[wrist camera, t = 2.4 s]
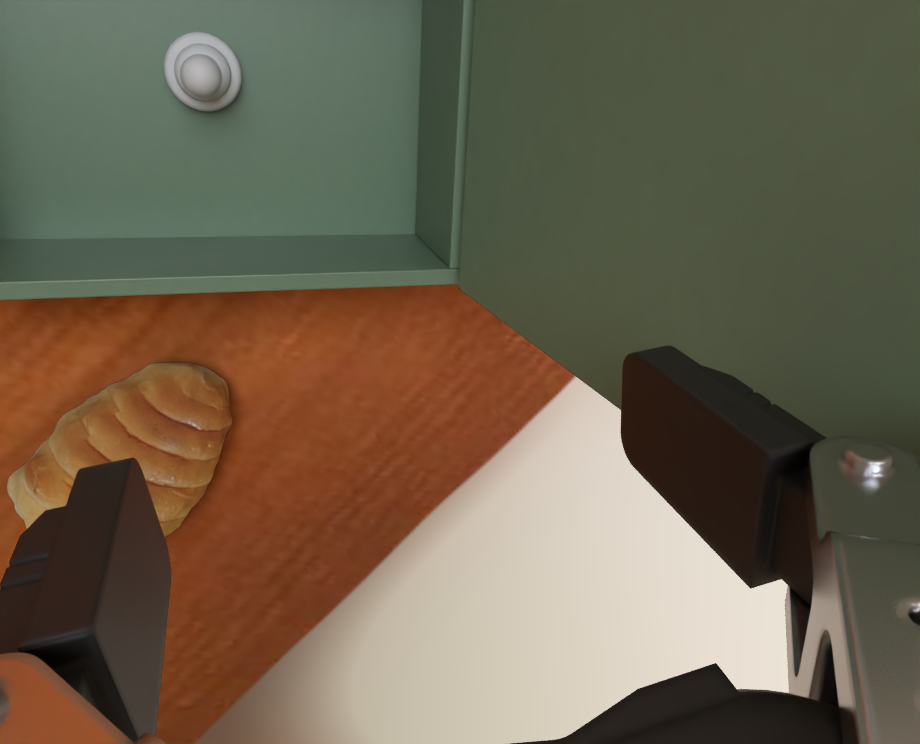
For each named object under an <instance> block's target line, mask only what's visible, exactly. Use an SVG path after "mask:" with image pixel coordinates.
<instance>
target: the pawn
mask: <svg viewBox="0 0 920 744" xmlns="http://www.w3.org/2000/svg"><path fill="white" fill-rule="evenodd" d="M164 75H165V78H166V81H167V84H168V86H169V88H170V89H171V91H172V93H173V94H174V95H175V96H176V97H177V98H178V99H179V100H180V101H181V102H182V103H184V104H185V105H187V106H188V107H190V108H193V109H196V110H199V111H207V112H211V111H216V110H220V109H222V108H224V107H226V106H228V105H229V104H230V103H231V102H232V101H233V100H234V99H235V98H236V96H237V94H238V92H239V90H240V86H241V82H242V71H241V68H240V64H239V61H238V59H237V57H236V55H235V53H234V51H233V50H232V49H231V48H230V47H229V46H228V45H227V44H226V43H225V42H224V41H222V40H221V39H220V38H218V37H216V36H214V35H211V34H209V33H204V32H192V33H186V34H184V35H182V36H180V37H178V38H177V39H176V40H175V41H174V42H173V43H172V44H171V45H170V47H169V48H168V50H167V52H166V55H165V59H164Z"/></svg>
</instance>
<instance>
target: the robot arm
mask: <svg viewBox="0 0 920 744" xmlns="http://www.w3.org/2000/svg"><path fill="white" fill-rule="evenodd" d="M621 439H622V443H623V448H624V450H625V453H626V456H627V458H628V459H629V461H630V463H631V464H632V465H633V467H634V468H635V469H636V470H637V471H638V472H639V473H640V474H641V475H642V476H643V477H644V478H645V479H646V480H647V481H648V482H649V483H650V484H651V485H652V487H653V488H654V489H655V490H656V491H657V492H658V493H659V494H660V495H661V496H662V497H663V498H664V499H665V500H666V501H667V502H668V503H669V504H670V505H671V506H672V507H673V508H674V509H675V510H676V512H677V513H678V514H679V515H680V516H681V517H682V518H683V519H684V520H685V521H686V522H687V523H688V524H689V525H690V526H691V527H692V528H693V529H694V530H695V531H696V532H697V533H698V534H699V535H700V536H701V538H702V539H703V540H704V541H705V542H706V543H707V544H708V545H709V546H710V547H711V548H712V549H713V550H714V551H715V552H716V553H717V554H718V555H719V556H720V557H721V558H722V559H723V560H724V561H725V562H726V564H728V566H729V567H730V568H731V569H732V570H733V571H734V572H735V573H736V574H737V575H738V576H739V577H740V578H741V579H742V580H743V581H744V582H745V583H746V584H747V585H748V586H749V587H750V588H754V587H757V586H760V585H763V584H767V583H770V582H773V581H776V580H780V579H782V580H783V581H784V582H786V584H788V588H787V593H786V599H785V613H786V614H785V616H786V637H787V657H788V679H789V693H783V692H776V691H769V690H749V689H738V690H737V689H736V688H735V687H734V685H733V684H732V683H731V682H730V680H729V679H728V678H727V677H726V675H725V674H724V673H723V672H722V670H721V669H720V668H719V666H718V665H717V664H716V663H715V664H712V665H709V666H706V667H703V668H700V669H697V670H694V671H691V672H688V673H685V674H682V675H679V676H676V677H673V678H670V679H667V680H664V681H661V682H658V683H655V684H652V685H649V686H646V687H643V688H640V689H637V690H636V691H634V692H633V693H631V694H630V695H628V696H627V697H625V698H624V699H622V700H621V701H620V702H618V703H617V704H615V705H614V706H612V707H611V708H609V709H608V710H606V711H605V712H603V713H602V714H600V715H599V716H597V717H596V718H594V719H593V720H591V721H590V722H589V723H587V724H585V725H584V726H582V727H581V728H579V729H578V730H576V731H575V732H573V733H572V734H570V735H568V736H567V737H564V738H561V739H557V740H548V741H537V742H524V743H512V744H920V460H919V459H918V458H916V457H915V456H914V455H913V454H911V453H910V452H908V451H906V450H905V449H903V448H901V447H899V446H896V445H894V444H891V443H888V442H885V441H882V440H878V439H874V438H869V437H862V436H836V437H830V438H826V437H825V436H823V435H822V434H820V433H819V432H817V431H816V430H814V429H813V428H811V427H810V426H808V425H807V424H805V423H804V422H802V421H800V420H799V419H797V418H796V417H794V416H793V415H791V414H790V413H788V412H787V411H785V410H784V409H782V408H781V407H779V406H778V405H776V404H771V402H770V400H769V399H767V398H766V397H764V396H762V395H761V394H759V393H758V392H755V393H754V392H753V389H752V388H750V387H749V386H747V385H746V384H744V383H743V382H741V381H740V380H738V379H737V378H735V377H734V376H732V375H729V374H726V373H723V372H721V371H718V370H715V369H712V368H709V367H706V366H702V365H700V364H699V363H697V362H696V361H694V360H693V359H691V358H690V357H688V356H687V355H685V354H684V353H682V352H681V351H679V350H678V349H677V348H675V347H673V346H671V345H666V346H661V347H657V348H652V349H647V350H642V351H638V352H633V353H629V354H628V355H627V356H626V357H625V359H624V362H623V369H622V404H621ZM9 564H10V567H8V568H7V569H6V571H5V574H4V576H3V579H2V581H1V583H0V586H1V590H0V744H166V743H165V742H163V741H162V740H161V739H160V738H158V737H156V727H157V716H158V706H159V696H160V686H161V676H162V666H163V656H164V646H165V636H166V626H167V616H168V606H169V596H170V586H171V567H170V558H169V553H168V548H167V544H166V540H165V537H164V534H163V531H162V528H161V525H160V522H159V519H158V516H157V513H156V510H155V507H154V504H153V501H152V498H151V495H150V492H149V489H148V486H147V483H146V480H145V477H144V474H143V472H142V469H141V467H140V464H139V463H138V461H137V460H136V459H135V458H134V457H132V458H127V459H123V460H118V461H113V462H108V463H104V464H99V465H94V466H90V467H85V468H81V469H79V470H78V472H77V474H76V477H75V480H74V483H73V486H72V489H71V492H70V495H69V498H68V501H67V504H66V506H63V507H58V508H54V509H49V510H45V511H44V512H43V513H42V514H41V515H40V516H39V517H38V518H37V519H36V520H35V521H34V522H33V523H32V524H31V525H30V527H29V528H28V529H27V530H26V531H25V532H24V533H23V534H22V535H21V536H20V537H19V540H18V542H17V545H16V547H15V550H14V552H13V554H12V557H11V559H10V562H9Z"/></svg>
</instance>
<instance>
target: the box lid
mask: <svg viewBox="0 0 920 744" xmlns="http://www.w3.org/2000/svg"><path fill="white" fill-rule="evenodd" d="M459 289H460V290H461V291H463V292H464V293H465V294H467V295H468V296H469V297H471V298H472V299H473V300H475V301H476V302H477V303H479V304H480V305H481V306H483V307H484V308H485V309H487V310H488V311H489V312H491V313H492V314H493V315H495V316H496V317H497V318H499V319H500V320H501V321H503V322H504V323H505V324H507V325H508V326H509V327H511V328H512V329H513V330H515V331H516V332H517V333H519V334H520V335H521V336H523V337H524V338H525V339H527V340H528V341H529V342H531V343H532V344H533V345H535V346H536V347H537V348H539V349H540V350H541V351H543V352H544V353H545V354H547V355H548V356H549V357H551V358H552V359H553V360H555V361H556V362H558V363H559V364H560V365H562V366H563V367H564V368H566V369H567V370H568V371H570V372H571V373H572V374H574V375H575V376H576V377H578V378H579V379H580V380H582V381H583V382H584V383H586V384H587V385H588V386H590V387H591V388H592V389H594V390H595V391H596V392H598V393H599V394H600V395H602V396H603V397H604V398H606V399H607V400H608V401H610V402H611V403H612V404H614V405H615V406H616V407H618V408H619V409H620V410H621V404H622V369H623V362H624V359H625V357H626V356H627V355H628V354H629V353H633V352H638V351H642V350H647V349H652V348H657V347H661V346H666V345H671V346H673V347H675V348H677V349H678V350H679V351H681V352H682V353H684V354H685V355H687V356H688V357H690V358H691V359H693V360H694V361H696V362H697V363H699V364H700V365H702V366H706V367H709V368H712V369H715V370H718V371H721V372H723V373H726V374H729V375H732V376H734V377H735V378H737V379H738V380H740V381H741V382H743V383H744V384H746V385H747V386H749V387H750V388H752V389H753V392H754V393H755V392H758V393H759V394H761V395H762V396H764V397H766V398H767V399H769V400H770V402H771V404H776V405H778V406H779V407H781V408H782V409H784V410H785V411H787V412H788V413H790V414H791V415H793V416H794V417H796V418H797V419H799V420H800V421H802V422H804V423H805V424H807V425H808V426H810V427H811V428H813V429H814V430H816V431H817V432H819V433H820V434H822V435H823V436H825V437H826V438H830V437H836V436H862V437H869V438H874V439H878V440H882V441H885V442H888V443H891V444H894V445H896V446H899V447H901V448H903V449H905V450H906V451H908V452H910V453H911V454H913V455H914V456H915V457H916V458H918V459H919V460H920V0H476V1H475V18H474V35H473V53H472V70H471V87H470V104H469V121H468V139H467V156H466V173H465V190H464V208H463V225H462V242H461V259H460V276H459Z"/></svg>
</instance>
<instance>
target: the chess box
mask: <svg viewBox="0 0 920 744" xmlns="http://www.w3.org/2000/svg"><path fill="white" fill-rule="evenodd" d="M475 1H476V0H0V300H22V299H50V298H79V297H108V296H137V295H165V294H194V293H223V292H252V291H280V290H309V289H338V288H367V287H395V286H424V285H453V284H459V276H460V259H461V242H462V225H463V208H464V190H465V173H466V156H467V139H468V121H469V104H470V87H471V70H472V53H473V35H474V18H475ZM192 32H204V33H209V34H211V35H214V36H216V37H218V38H220V39H221V40H222V41H224V42H225V43H226V44H227V45H228V46H229V47H230V48H231V49H232V50H233V51H234V53H235V55H236V57H237V59H238V61H239V64H240V68H241V71H242V82H241V86H240V90H239V92H238V94H237V96H236V98H235V99H234V100H233V101H232V102H231V103H230V104H229V105H228V106H226V107H224V108H222V109H220V110H216V111H211V112H207V111H199V110H196V109H193V108H190V107H188V106H187V105H185V104H184V103H182V102H181V101H180V100H179V99H178V98H177V97H176V96H175V95H174V94H173V93H172V91H171V89H170V88H169V86H168V84H167V81H166V78H165V75H164V59H165V55H166V52H167V50H168V48H169V47H170V45H171V44H172V43H173V42H174V41H175V40H176V39H177V38H178V37H180V36H182V35H184V34H186V33H192Z"/></svg>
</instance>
